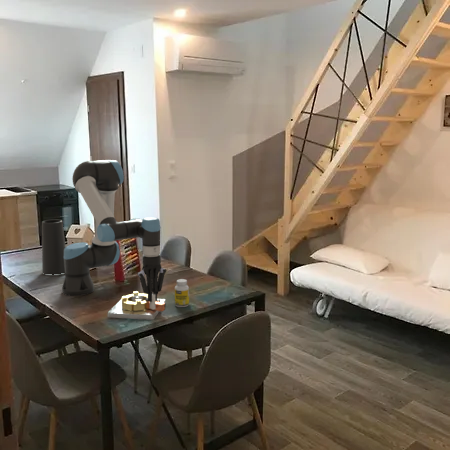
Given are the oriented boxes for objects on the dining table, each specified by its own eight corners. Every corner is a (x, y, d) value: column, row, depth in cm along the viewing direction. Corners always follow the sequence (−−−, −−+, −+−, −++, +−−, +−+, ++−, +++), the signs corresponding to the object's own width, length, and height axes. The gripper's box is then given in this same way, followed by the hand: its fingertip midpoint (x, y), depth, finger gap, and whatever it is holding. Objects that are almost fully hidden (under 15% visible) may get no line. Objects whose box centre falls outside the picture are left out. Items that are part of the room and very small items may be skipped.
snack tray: (115, 307, 224) (115, 298, 223) (135, 298, 235) (134, 289, 234) (153, 315, 214) (153, 306, 213) (172, 305, 225) (172, 296, 224)
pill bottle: (172, 306, 231) (171, 281, 229) (178, 301, 237) (178, 277, 235) (185, 308, 229) (185, 283, 226) (191, 303, 235) (191, 279, 232)
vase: (73, 271, 286) (70, 220, 280) (53, 277, 275) (50, 224, 269) (57, 267, 293) (53, 218, 287) (37, 273, 282) (33, 221, 276)
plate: (107, 317, 218) (107, 303, 217) (123, 301, 238) (123, 288, 237) (154, 319, 215) (154, 306, 214) (166, 303, 235) (166, 290, 234)
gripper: (141, 258, 208) (143, 314, 212) (169, 254, 215) (170, 307, 220) (133, 255, 214) (134, 308, 218) (160, 250, 221) (161, 303, 226)
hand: (152, 308), depth 219 cm, fingers closed
